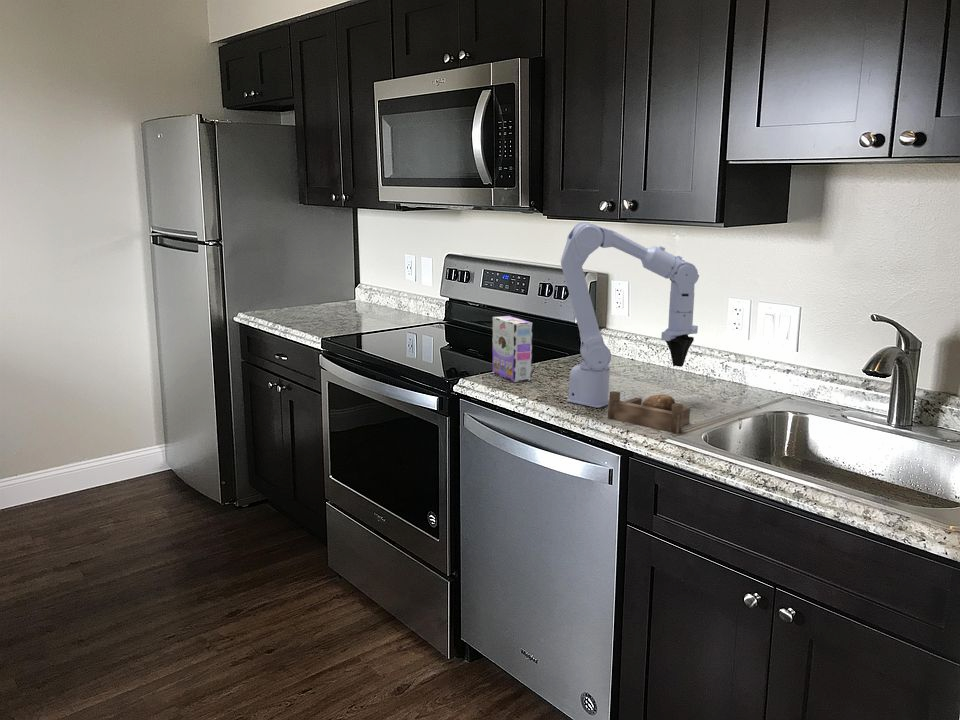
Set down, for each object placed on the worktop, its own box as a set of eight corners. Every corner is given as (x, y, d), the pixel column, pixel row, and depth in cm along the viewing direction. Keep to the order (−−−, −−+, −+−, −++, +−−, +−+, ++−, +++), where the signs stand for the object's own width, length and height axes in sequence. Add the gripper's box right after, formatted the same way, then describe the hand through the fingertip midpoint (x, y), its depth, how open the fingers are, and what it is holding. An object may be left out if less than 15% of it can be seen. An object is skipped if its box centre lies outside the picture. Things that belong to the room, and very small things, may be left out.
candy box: (532, 381, 229) (533, 321, 225) (513, 383, 226) (514, 323, 223) (509, 371, 241) (510, 314, 238) (491, 372, 238) (491, 316, 235)
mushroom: (673, 400, 197) (664, 382, 193) (685, 421, 190) (677, 403, 187) (642, 415, 198) (633, 397, 194) (653, 436, 191) (644, 418, 188)
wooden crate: (606, 417, 193) (607, 392, 192) (627, 409, 200) (628, 385, 199) (678, 433, 181) (679, 406, 180) (698, 424, 188) (699, 399, 187)
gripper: (681, 316, 194) (678, 373, 197) (710, 309, 205) (706, 363, 208) (654, 313, 199) (652, 368, 202) (684, 306, 209) (681, 359, 212)
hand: (678, 365), depth 205 cm, fingers closed
